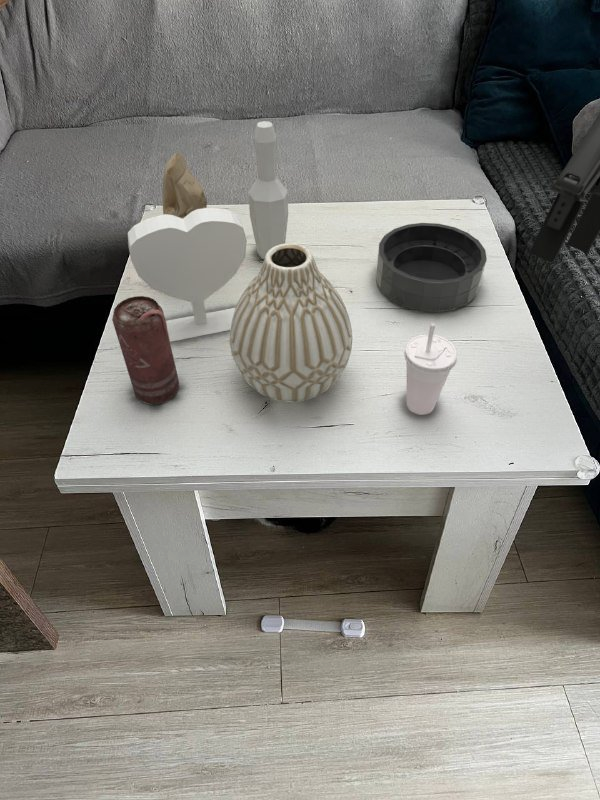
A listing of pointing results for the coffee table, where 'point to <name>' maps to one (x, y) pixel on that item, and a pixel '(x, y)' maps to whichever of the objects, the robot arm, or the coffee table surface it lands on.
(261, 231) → the low poly bottle
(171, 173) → the tan rock
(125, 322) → the can
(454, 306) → the bowl
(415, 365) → the smoothie
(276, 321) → the vase
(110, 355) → the coffee table surface
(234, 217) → the heart sculpture
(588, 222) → the robot arm
